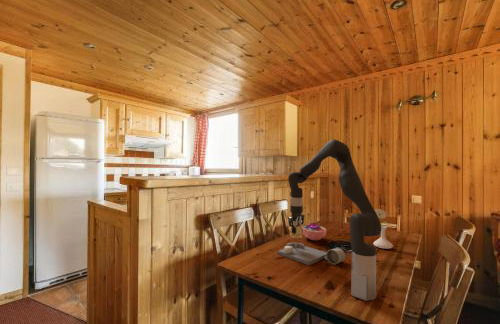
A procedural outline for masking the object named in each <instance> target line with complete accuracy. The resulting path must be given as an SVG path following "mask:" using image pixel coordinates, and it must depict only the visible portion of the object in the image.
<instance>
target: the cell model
mask: <svg viewBox="0 0 500 324" xmlns="http://www.w3.org/2000/svg"><path fill="white" fill-rule="evenodd" d="M326 235H327V228H326V227H324V226H321V225H318V224H317V223H316V222H311V223H310V224H305V225H304V224H303V225H302V236H304V237H306V238H307V239H309V240H310V241H320V240H322V239H323V238H324V237H325V236H326Z"/></svg>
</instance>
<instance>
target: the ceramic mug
mask: <svg viewBox="0 0 500 324" xmlns="http://www.w3.org/2000/svg"><path fill="white" fill-rule="evenodd" d="M326 253H327V254H326V256H325V257H324V260H325V261H327V262H328V263H329V264H331V265H337V264H340V263H342V262H344V260H345V259H346V253H345V251H344V250H343V249H342V248H338V247H337V248H336V247H335V248H332V249H329V250H327V252H326Z"/></svg>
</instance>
